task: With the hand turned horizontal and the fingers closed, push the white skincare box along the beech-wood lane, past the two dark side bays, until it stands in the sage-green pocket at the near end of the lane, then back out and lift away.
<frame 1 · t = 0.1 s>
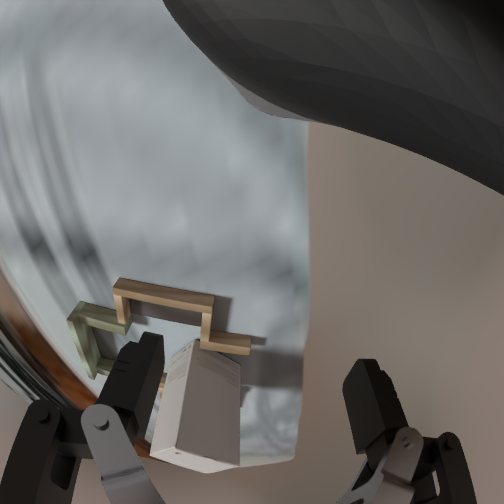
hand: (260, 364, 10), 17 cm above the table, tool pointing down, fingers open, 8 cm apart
skincare box: (207, 360, 36), on the table
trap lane: (165, 353, 36), on the table
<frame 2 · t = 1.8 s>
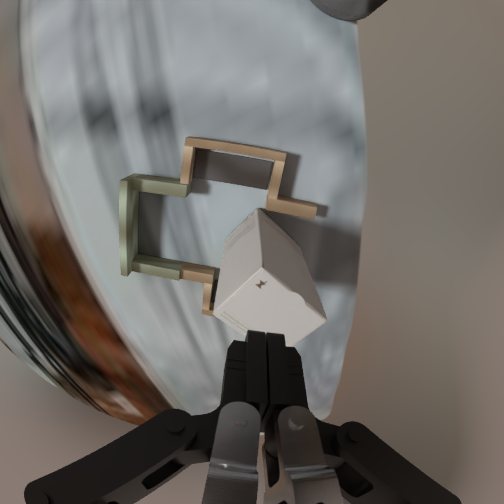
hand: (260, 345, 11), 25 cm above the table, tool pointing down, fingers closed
skincare box: (265, 241, 37), on the table
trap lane: (219, 234, 36), on the table
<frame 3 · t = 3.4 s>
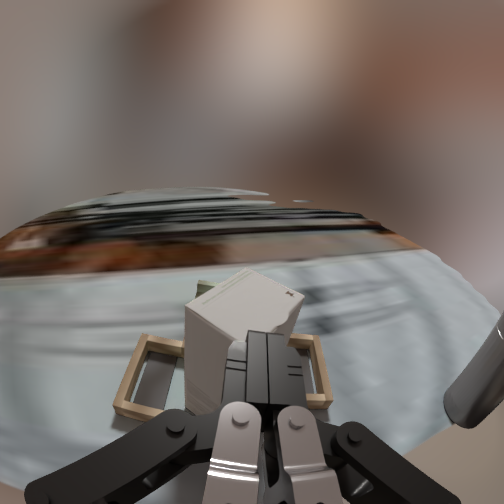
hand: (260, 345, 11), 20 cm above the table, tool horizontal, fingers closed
skincare box: (228, 404, 28), on the table
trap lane: (231, 365, 33), on the table
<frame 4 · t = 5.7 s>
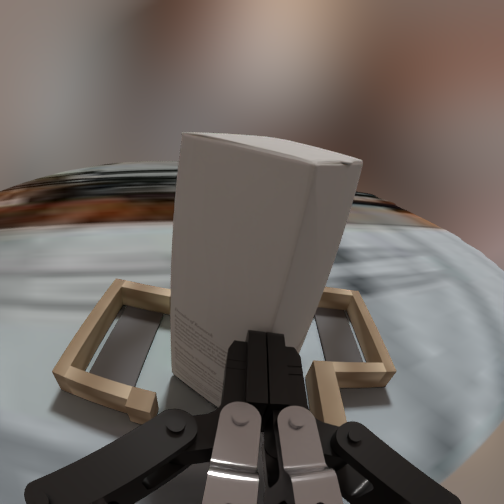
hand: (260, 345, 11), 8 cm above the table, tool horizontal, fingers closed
skincare box: (239, 371, 19), on the table, touching gripper
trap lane: (242, 327, 24), on the table
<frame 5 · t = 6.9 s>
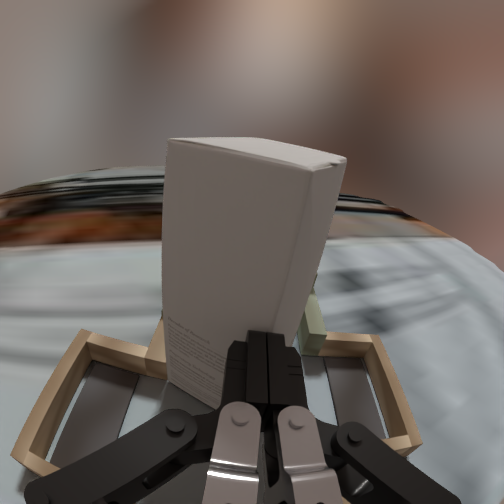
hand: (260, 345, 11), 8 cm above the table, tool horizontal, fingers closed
skincare box: (233, 372, 19), on the table, touching gripper
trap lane: (238, 392, 17), on the table
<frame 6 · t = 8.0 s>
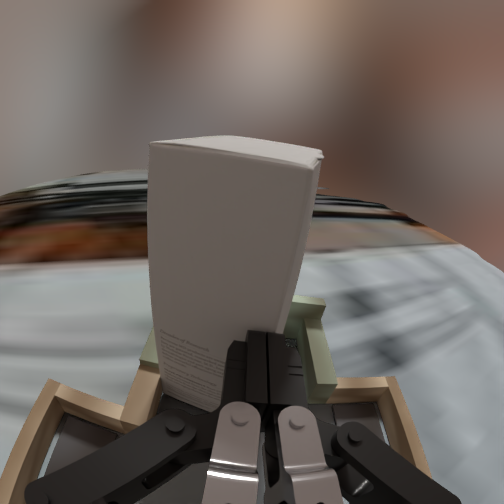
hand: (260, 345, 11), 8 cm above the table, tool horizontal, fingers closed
skincare box: (226, 374, 19), on the table, touching gripper
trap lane: (232, 455, 13), on the table
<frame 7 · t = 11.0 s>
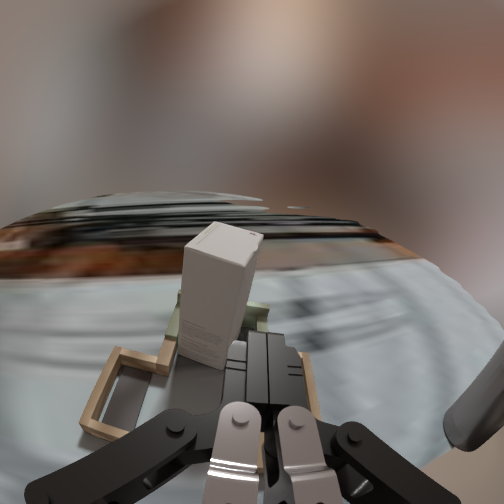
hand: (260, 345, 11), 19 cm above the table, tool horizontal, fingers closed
skincare box: (211, 345, 36), on the table
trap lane: (210, 384, 29), on the table
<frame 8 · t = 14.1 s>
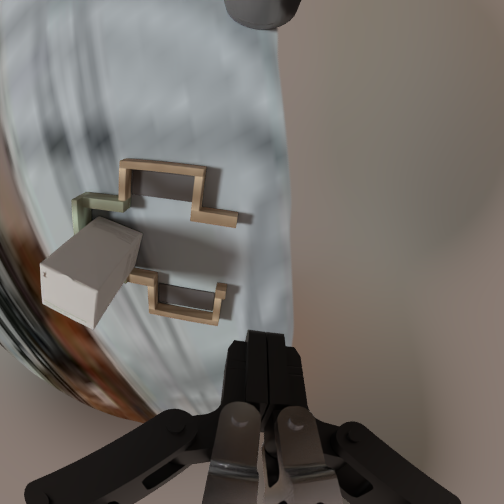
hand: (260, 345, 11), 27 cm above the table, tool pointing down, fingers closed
skincare box: (118, 239, 39), on the table
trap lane: (157, 243, 39), on the table
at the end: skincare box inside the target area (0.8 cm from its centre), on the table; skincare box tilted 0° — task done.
